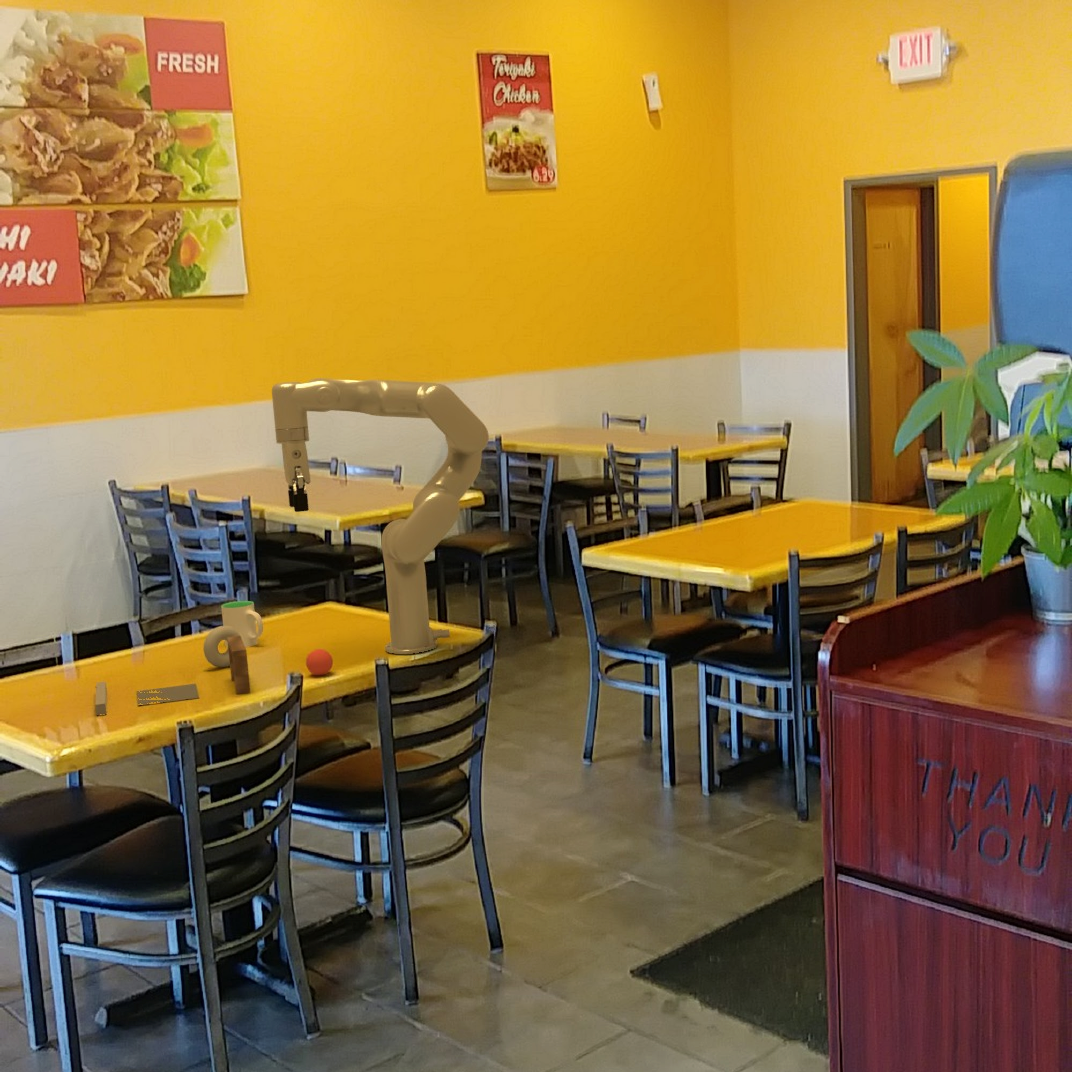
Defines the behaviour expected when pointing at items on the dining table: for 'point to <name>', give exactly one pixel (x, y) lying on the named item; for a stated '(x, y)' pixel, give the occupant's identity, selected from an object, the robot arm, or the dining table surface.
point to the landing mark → (169, 694)
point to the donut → (213, 642)
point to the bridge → (238, 664)
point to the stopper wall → (101, 698)
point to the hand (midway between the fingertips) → (299, 508)
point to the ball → (319, 662)
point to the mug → (243, 621)
